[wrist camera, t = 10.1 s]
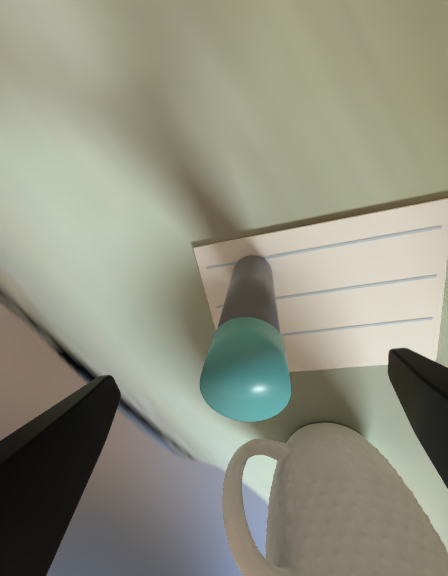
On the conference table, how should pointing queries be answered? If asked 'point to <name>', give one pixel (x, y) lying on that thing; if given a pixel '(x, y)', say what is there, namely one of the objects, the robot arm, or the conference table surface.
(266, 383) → the marker
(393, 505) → the mug
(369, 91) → the conference table surface
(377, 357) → the paper
